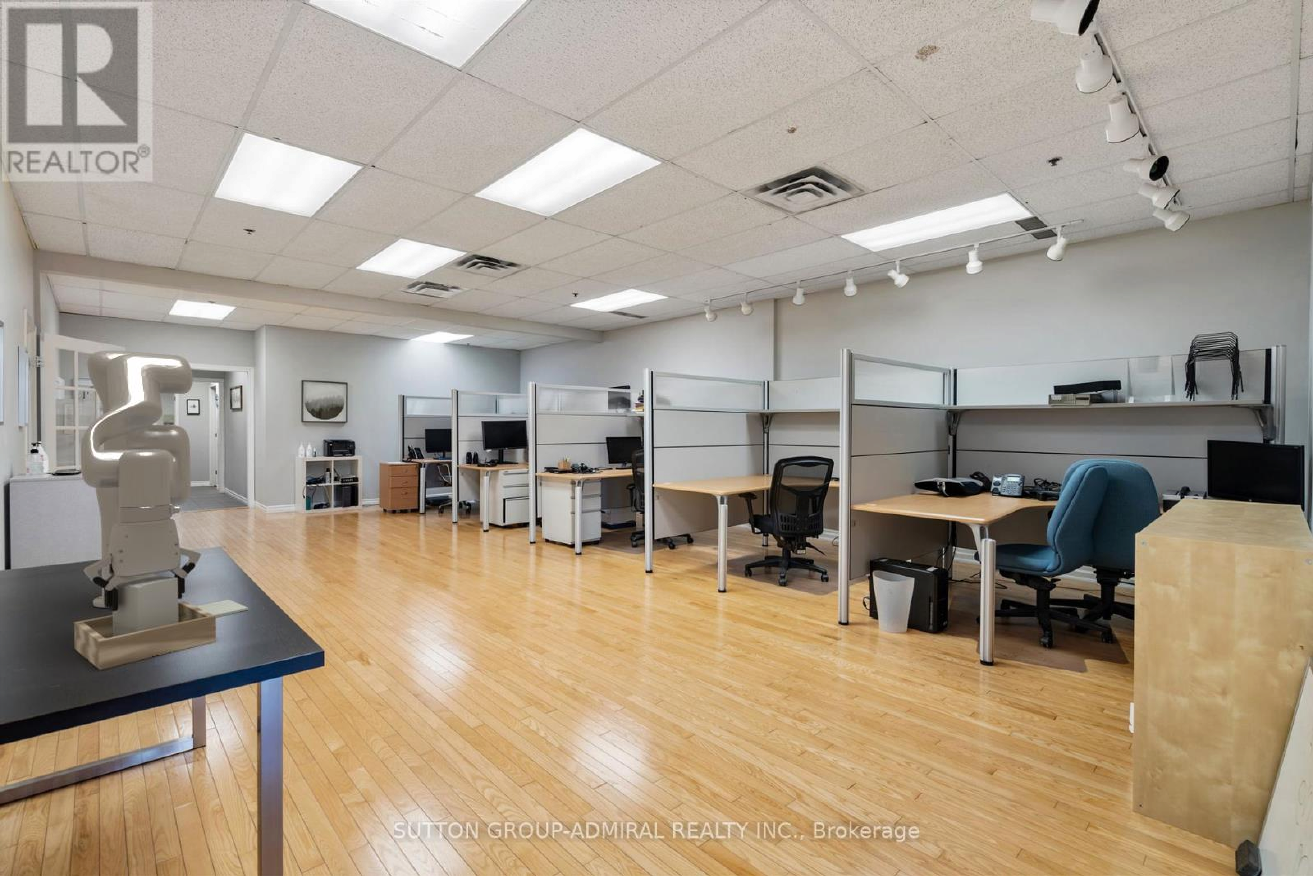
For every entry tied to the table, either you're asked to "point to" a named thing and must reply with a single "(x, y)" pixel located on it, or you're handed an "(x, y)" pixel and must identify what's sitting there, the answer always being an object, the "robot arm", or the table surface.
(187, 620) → the crate
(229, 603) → the mat
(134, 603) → the supplement box
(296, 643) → the table surface
